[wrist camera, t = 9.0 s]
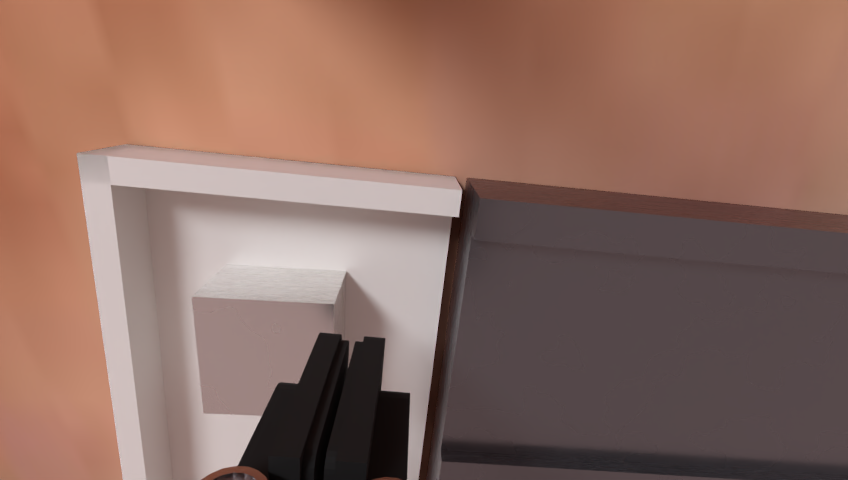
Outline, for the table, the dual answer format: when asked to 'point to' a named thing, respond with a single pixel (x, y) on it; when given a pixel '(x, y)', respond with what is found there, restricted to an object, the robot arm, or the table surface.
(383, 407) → the robot arm
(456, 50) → the table surface
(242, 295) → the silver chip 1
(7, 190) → the table surface
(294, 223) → the tray
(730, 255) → the slot block
